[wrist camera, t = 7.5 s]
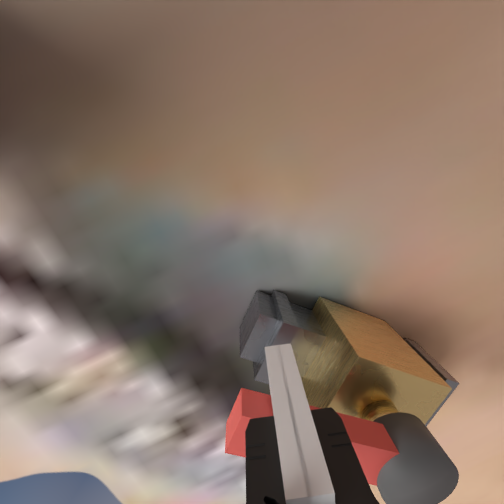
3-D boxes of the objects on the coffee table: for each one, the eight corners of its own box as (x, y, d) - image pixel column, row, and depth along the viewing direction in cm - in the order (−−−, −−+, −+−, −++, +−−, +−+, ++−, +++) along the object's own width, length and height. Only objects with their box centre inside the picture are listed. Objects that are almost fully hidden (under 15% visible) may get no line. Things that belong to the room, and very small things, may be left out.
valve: (233, 340, 24) (230, 441, 15) (263, 275, 22) (280, 345, 13) (395, 393, 27) (475, 505, 18) (432, 338, 25) (542, 432, 16)
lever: (438, 421, 15) (473, 465, 13) (404, 468, 16) (432, 516, 14) (246, 369, 13) (248, 410, 11) (222, 426, 14) (219, 473, 12)
